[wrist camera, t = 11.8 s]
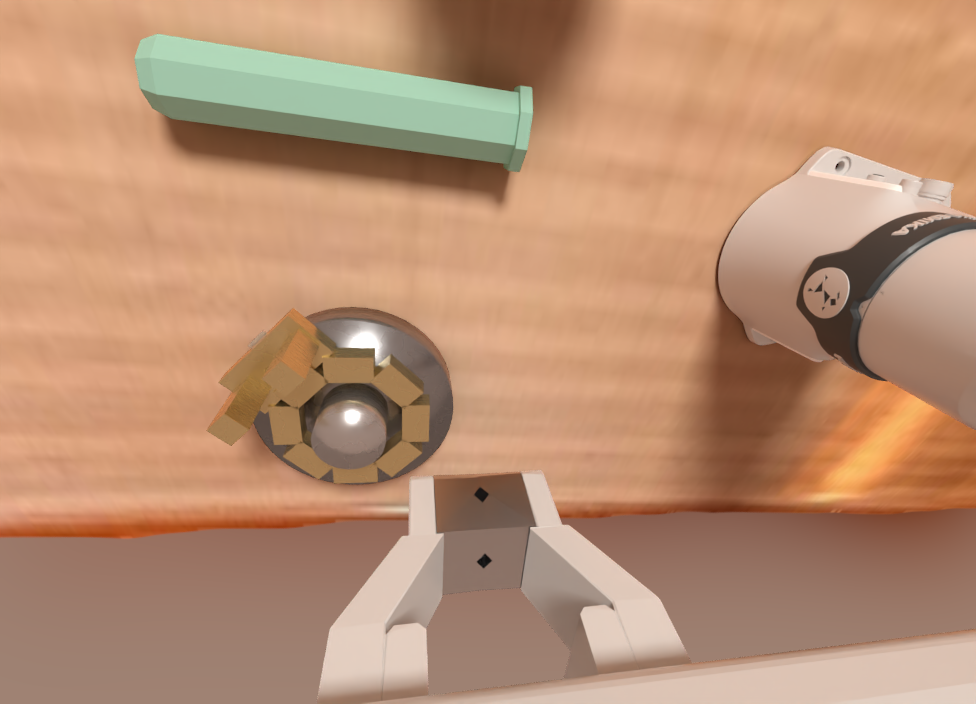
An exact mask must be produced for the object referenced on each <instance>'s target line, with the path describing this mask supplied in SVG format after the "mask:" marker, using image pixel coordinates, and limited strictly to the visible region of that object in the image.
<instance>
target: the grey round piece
mask: <svg viewBox="0 0 976 704" xmlns="http://www.w3.org/2000/svg"><path fill="white" fill-rule="evenodd" d="M305 318H306V319H307V320H308V321H310V322H311V323H312V324H313V325H314V326H316V327H317V328H318V329H319V330H321V331H322V332H323V333H324V334H325V335H327V336H328V337H329V338H330V339H332V340H333V341H334V342H335V343H336V346H335V347H338V348H375V362H376V366H378V365H379V364H380V363H381V362H382V361H383V360H384V359H386V358H387V357H388V356H389V355H390V354H392V355H393V356H394V357H395V358H396V359H398V360H399V361H400V362H401V363H402V364H403V365H405V366H406V367H407V368H408V369H409V370H410V371H411V372H413V373H414V374H415V375H416V376H417V377H418V378H420V379H421V380H422V381H423V382H424V393H423V394H429V399H430V415H429V442H422V454H421V455H419V456H418V457H417V458H416V459H414V460H413V461H412V462H410V463H409V464H408V465H407V466H405V467H404V468H403V469H402V470H400V471H399V472H398V473H397V474H395V475H394V476H393V477H391V476H389V475H388V474H387V473H385V472H384V471H382V470H381V469H380V468H379V475H378V482H382V481H386V480H390V479H393V478H396V477H399V476H401V475H403V474H406V473H408V472H409V471H411V470H413V469H415V468H417V467H418V466H419V465H421V464H422V463H424V462H425V461H426V460H427V459H428V458H429V457H430V456H431V455H433V453H434V452H435V451H436V450H437V449H438V448H439V446H440V445H441V443H442V442H443V440H444V438H445V437H446V434H447V432H448V430H449V427H450V424H451V420H452V413H453V397H452V389H451V381H450V376H449V371H448V368H447V366H446V363H445V361H444V359H443V357H442V355H441V353H440V351H439V350H438V349H437V347H436V346H435V345H434V343H433V342H432V341H431V340H430V339H429V338H428V337H427V336H426V335H425V334H424V333H423V332H421V331H420V330H419V329H418V328H416V327H415V326H413V325H412V324H410V323H408V322H407V321H405V320H403V319H401V318H399V317H396V316H394V315H392V314H389V313H385V312H382V311H379V310H373V309H368V308H357V307H346V308H335V309H329V310H324V311H321V312H318V313H314V314H312V315H309V316H307V317H305ZM266 333H267V332H265V331H264V330H263V331H262V332H261V333H260V334H259V335H258V336H257V337H256V338H255V339H254V340H253V341H252V342H251V343H250V344H249V345H248V347H249V348H252V347H253V346H254V345H255V344H256V343H257V342H258V341H259V340H260V339H261V338H262V337H263V336H264V335H265V334H266ZM322 363H323V362H322ZM304 409H305V417H306V425H307V430H308V431H310V432H311V433H312V435H311V445H312V448H313V451H314V452H315V454H316V455H317V456H318V457H319V458H320V459H321V460H322V461H323V462H325V463H326V464H328V465H330V466H333V467H336V468H340V469H358V468H363V467H366V466H368V465H370V464H372V463H373V462H375V461H376V460H377V459H378V458H379V457H380V456H381V455H382V453H383V451H384V448H385V444H386V441H388V440H389V439H390V438H391V437H393V436H394V435H395V434H396V433H397V432H399V431H400V430H401V429H402V407H401V406H399V405H398V404H397V403H396V402H394V401H393V400H392V399H391V398H389V397H388V396H387V395H386V394H384V393H383V392H382V391H381V390H379V389H378V388H377V387H376V386H375V385H373V384H372V383H327V384H326V385H325V386H323V387H322V388H321V389H320V390H319V391H318V392H317V393H316V394H314V395H313V396H312V397H311V398H310V399H309V400H308V401H306V402H305V403H304ZM253 423H254V425H255V427H256V429H257V432H258V434H259V435H260V437H261V438H262V440H263V441H264V443H265V444H266V445H267V446H268V448H269V449H270V450H271V451H272V452H273V453H274V454H275V455H276V456H277V457H278V458H280V459H281V460H282V461H283V462H285V463H286V464H288V465H289V466H291V467H292V468H294V469H296V470H298V471H300V472H301V473H304V474H306V475H309V476H311V477H314V476H312V475H311V474H309V473H307V472H306V471H304V470H303V469H301V468H300V467H298V466H297V465H295V464H293V463H292V462H290V461H289V460H287V459H286V458H284V457H283V454H284V452H285V449H286V447H287V445H274V441H273V435H272V429H271V423H270V417H269V411H268V412H267V413H266V414H264V413H263V412H261V411H260V410H259V412H258V414H257V416H256V418H255V420H254V421H253ZM314 478H315V477H314ZM320 480H324V481H328V482H333V483H334V479H333V468H332V469H331V470H330V471H328V472H327V473H326V474H325V475H324V476H322V477H321V478H320ZM371 483H377V482H365V483H340V484H371Z"/></svg>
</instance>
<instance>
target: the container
mask: <svg viewBox="0 0 976 704" xmlns="http://www.w3.org/2000/svg"><path fill="white" fill-rule="evenodd" d="M135 64H136V70H137V75H138V81H139V86H140V89H141V91H142V92H143V94H144V96H145V97H146V99H147V100H148V102H149V103H150V105H151V106H152V108H153V109H155V110H156V111H158V112H160V113H162V114H164V115H165V116H167V117H169V118H171V119H177V120H184V121H192V122H199V123H207V124H214V125H221V126H229V127H236V128H244V129H251V130H259V131H266V132H273V133H281V134H288V135H296V136H303V137H310V138H318V139H325V140H333V141H340V142H347V143H355V144H362V145H370V146H377V147H384V148H392V149H399V150H407V151H414V152H421V153H429V154H436V155H444V156H451V157H458V158H466V159H473V160H481V161H488V162H495V163H503V164H504V168H505V169H506V170H508V171H514V172H520V169H521V166H522V163H523V161H524V158H525V155H526V152H527V149H528V142H529V136H530V130H531V123H532V117H533V95H532V87H526V86H517V87H515V88H514V91H513V92H511V91H505V90H499V89H493V88H487V87H481V86H475V85H468V84H462V83H456V82H450V81H444V80H438V79H432V78H425V77H419V76H413V75H407V74H401V73H395V72H389V71H383V70H376V69H370V68H364V67H358V66H352V65H346V64H340V63H333V62H327V61H321V60H315V59H309V58H303V57H297V56H290V55H284V54H278V53H272V52H266V51H260V50H254V49H247V48H241V47H235V46H229V45H223V44H217V43H211V42H205V41H198V40H192V39H186V38H180V37H174V36H168V35H162V34H156V35H153V36H150V37H147V38H145V39H142V40H141V41H140V44H139V47H138V50H137V53H136V56H135Z"/></svg>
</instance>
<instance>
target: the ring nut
mask: <svg viewBox="0 0 976 704" xmlns="http://www.w3.org/2000/svg"><path fill="white" fill-rule="evenodd" d="M335 346H336V343H335V342H334V341H333V340H332V339H330V338H329V337H328V336H327V335H325V334H324V333H323V332H322V331H321V330H319V329H318V328H317V327H316V326H314V325H313V324H312V323H311V322H310V321H308V320H307V319H306V318H305V317H303V316H302V315H301V314H300V313H299V312H297V311H296V310H295V309H294V308H293V309H292V310H290V311H289V312H288V313H287V314H286V315H285V316H284V317H283V318H282V319H281V320H280V321H279V322H278V323H277V324H276V325H275V326H274V327H273V328H272V329H271V330H270V331H269V332H268V333H266V334H265V335H264V336H263V337H262V338H261V339H260V340H259V341H258V342H257V343H256V344H255V345H254V346H253V347H252V348H251V349H250V350H249V351H248V352H247V353H246V354H245V355H244V356H243V357H241V358H240V359H239V360H238V361H237V362H236V363H235V364H234V365H233V366H232V367H231V368H230V369H229V370H228V371H227V372H226V373H225V374H224V376H223V377H222V378H221V380H220V381H219V383H220V384H221V385H223V386H224V387H226V388H227V389H229V390H230V391H232V393H231V394H230V396H229V397H228V399H227V400H226V402H225V403H224V405H223V406H222V408H221V409H220V411H219V412H218V414H217V415H216V417H215V418H214V420H213V421H212V423H211V424H210V426H209V427H208V429H207V430H206V431H208V432H209V433H211V434H213V435H214V436H216V437H217V438H219V439H221V440H222V441H224V442H226V443H227V444H229V445H230V446H232V445H233V444H234V443H235V442H236V441H237V440H238V439H240V438H241V437H242V436H243V435H244V434H245V433H246V432H247V431H248V430H249V429H250V427H251V425H252V423H253V421H254V420H255V418H256V416H257V414H258V412H259V410H260V411H261V412H263V413H264V414H266V413H267V412H268V411H269V417H270V423H271V429H272V435H273V441H274V445H287V447H286V449H285V452H284V454H283V457H284V458H286V459H287V460H289V461H290V462H292V463H293V464H295V465H297V466H298V467H300V468H301V469H303V470H304V471H306V472H307V473H309V474H311V475H312V476H314V477H315V478H317V479H318V480H319V479H320V478H321V477H322V476H324V475H325V474H326V473H327V472H328V471H330V470H331V469H332V468H333V479H334V484H337V483H365V482H378V475H379V468H380V469H381V470H382V471H384V472H385V473H387V474H388V475H389V476H391V477H393V476H394V475H395V474H397V473H398V472H399V471H400V470H402V469H403V468H404V467H405V466H407V465H408V464H409V463H410V462H412V461H413V460H414V459H416V458H417V457H418V456H419V455H421V454H422V442H429V415H430V399H429V394H423V393H424V382H423V381H422V380H421V379H420V378H418V377H417V376H416V375H415V374H414V373H413V372H411V371H410V370H409V369H408V368H407V367H406V366H405V365H403V364H402V363H401V362H400V361H399V360H398V359H396V358H395V357H394V356H393V355H392V354H390V355H389V356H388V357H387V358H386V359H384V360H383V361H382V362H381V363H380V364H379V365H378V366H376V362H375V348H338V347H335ZM322 362H323V363H322ZM327 383H372V384H373V385H375V386H376V387H377V388H378V389H379V390H381V391H382V392H383V393H384V394H386V395H387V396H388V397H389V398H391V399H392V400H393V401H394V402H396V403H397V404H398V405H399V406H401V407H402V429H401V430H400V431H399V432H397V433H396V434H395V435H394V436H393V437H391V438H390V439H389V440H388V441H386V444H385V448H384V451H383V453H382V455H381V456H380V457H379V458H378V459H377V460H376V461H375V462H373V463H372V464H370V465H368V466H366V467H363V468H358V469H340V468H336V467H333V466H330V465H328V464H326V463H325V462H323V461H322V460H321V459H320V458H319V457H318V456H317V455H316V454H315V452H314V451H313V448H312V445H311V435H312V433H311V432H310V431H308V430H307V425H306V417H305V409H304V403H305V402H306V401H308V400H309V399H310V398H311V397H312V396H313V395H314V394H316V393H317V392H318V391H319V390H320V389H321V388H322V387H323V386H325V385H326V384H327Z"/></svg>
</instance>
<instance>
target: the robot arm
mask: <svg viewBox="0 0 976 704" xmlns="http://www.w3.org/2000/svg"><path fill="white" fill-rule="evenodd" d="M837 163H838V166H837V168H836V169H835V167H836V165H837ZM953 186H954V184H952V183H948V182H944V181H940V180H934V179H927V178H920V177H917V176H914V175H911V174H908V173H906V172H903V171H900V170H897V169H894V168H891V167H889V166H886V165H883V164H880V163H877V162H875V161H872V160H869V159H866V158H863V157H860V156H858V155H855V154H852V153H849V152H846V151H844V150H841V149H837V148H833V147H824V148H822V149H820V150H819V151H817V152H816V153H815V154H814V155H813V156H812V157H811V158H810V159H809V160H808V161H807V162H806V163H805V164H804V165H803V166H802V167H801V168H800V169H799V170H798V172H797V173H796V174H794V175H793V176H792V177H790V178H789V179H787V180H785V181H784V182H782V183H780V184H778V185H777V186H775V187H773V188H772V189H770V190H769V191H767V192H766V193H765V194H763V195H762V196H761V197H760V198H758V199H757V200H756V201H755V202H754V203H753V204H752V205H751V206H750V207H749V208H748V209H747V210H746V211H745V212H744V214H743V215H742V216H741V217H740V219H739V220H738V221H737V223H736V224H735V226H734V227H733V229H732V231H731V233H730V234H729V236H728V238H727V240H726V243H725V245H724V248H723V251H722V254H721V258H720V262H719V270H718V282H719V289H720V292H721V295H722V298H723V300H724V302H725V304H726V305H727V307H728V308H729V309H730V310H731V311H732V312H733V313H734V314H735V315H736V316H737V317H739V318H740V319H741V321H742V322H743V324H744V328H745V332H746V334H747V337H748V339H749V340H750V341H751V342H753V343H755V344H757V345H768V344H773V343H779V344H781V345H783V346H784V347H786V348H788V349H790V350H792V351H794V352H796V353H798V354H800V355H802V356H804V357H806V358H808V359H810V360H812V361H815V362H822V361H823V360H834V359H837V360H838V361H840V362H841V363H842V364H843V365H845V366H847V367H848V368H850V369H852V370H854V371H856V372H859V373H861V374H865V375H867V376H869V377H871V378H873V379H877V380H881V381H889V382H891V383H892V384H894V385H896V386H898V387H899V388H901V389H903V390H905V391H906V392H908V393H910V394H912V395H914V396H915V397H917V398H919V399H921V400H922V401H924V402H926V403H928V404H929V405H931V406H933V407H935V408H936V409H938V410H940V411H942V412H943V413H945V414H947V415H949V416H950V417H952V418H954V419H956V420H958V421H959V422H961V423H963V424H965V425H966V426H968V427H970V428H972V429H974V430H976V217H974V216H972V215H969V214H966V213H964V212H961V211H958V210H955V209H952V208H950V207H951V191H952V189H953V188H954V187H953ZM511 588H521V591H522V592H523V593H524V595H525V596H526V597H527V598H528V599H529V601H530V602H531V603H532V604H533V606H534V607H535V608H536V609H537V610H538V612H539V613H540V614H541V615H542V617H543V618H544V619H545V620H546V621H547V623H548V624H549V625H550V626H551V627H552V629H553V630H554V631H555V632H556V634H557V635H558V636H559V637H560V638H561V640H562V641H563V642H564V644H565V645H566V646H567V647H568V648H569V650H570V651H571V652H570V656H569V659H568V664H567V667H566V671H565V675H564V679H559V680H551V681H542V682H534V683H526V684H518V685H510V686H501V687H493V688H485V689H477V690H468V691H461V692H452V693H444V694H436V695H428V667H427V632H426V628H427V627H428V625H429V623H430V620H431V618H432V617H433V614H434V613H435V611H436V609H437V607H438V605H439V603H440V601H441V599H442V595H444V594H453V593H462V592H470V591H479V590H494V589H511ZM317 704H976V629H970V630H962V631H954V632H945V633H938V634H929V635H921V636H913V637H905V638H896V639H888V640H879V641H872V642H863V643H855V644H847V645H839V646H830V647H822V648H813V649H805V650H798V651H789V652H782V653H773V654H764V655H757V656H748V657H739V658H731V659H723V660H715V661H706V662H699V663H692V662H691V660H690V658H689V656H688V654H687V652H686V650H685V648H684V646H683V644H682V642H681V640H680V638H679V636H678V634H677V632H676V630H675V628H674V626H673V624H672V622H671V620H670V618H669V616H668V614H667V612H666V610H665V608H664V606H663V604H662V602H661V600H660V598H658V597H657V596H656V595H655V594H654V593H652V592H651V591H650V590H649V589H647V588H646V587H645V586H644V585H643V584H641V583H640V582H639V581H637V580H636V579H635V578H634V577H633V576H631V575H630V574H628V572H626V571H625V570H624V569H623V568H622V567H620V566H619V565H618V564H616V563H615V562H614V561H613V560H612V559H610V558H609V557H608V556H607V555H605V554H604V553H603V552H602V551H600V550H599V549H598V548H597V547H595V546H594V545H593V544H592V543H591V542H589V541H588V540H587V539H586V538H584V537H583V536H582V535H581V534H579V533H578V532H577V531H576V530H574V529H573V528H572V527H571V526H570V525H562V523H561V520H560V517H559V515H558V512H557V509H556V506H555V503H554V501H553V498H552V495H551V492H550V490H549V487H548V484H547V481H546V479H545V476H544V473H543V472H542V471H541V470H534V471H520V472H505V473H487V474H465V475H434V476H410V481H409V536H401V538H400V539H399V540H398V541H397V543H396V544H395V545H394V547H393V548H392V549H391V550H390V552H389V553H388V554H387V556H386V557H385V558H384V559H383V561H382V562H381V563H380V565H379V566H378V567H377V569H376V570H375V571H374V572H373V574H372V575H371V576H370V577H369V579H368V580H367V582H366V583H365V584H364V585H363V587H362V588H361V589H360V590H359V592H358V593H357V594H356V596H355V597H354V598H353V599H352V601H351V602H350V603H349V605H348V606H347V607H346V608H345V610H344V611H343V612H342V614H341V615H340V616H339V617H338V619H337V620H336V621H335V623H334V624H333V625H332V627H331V628H330V630H329V636H328V642H327V647H326V654H325V659H324V664H323V670H322V676H321V682H320V688H319V693H318V699H317Z"/></svg>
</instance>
